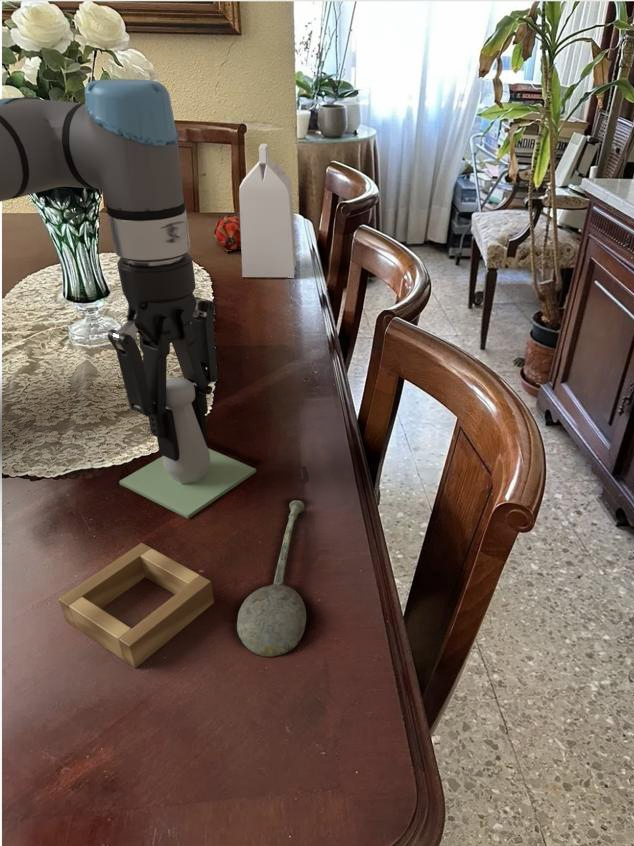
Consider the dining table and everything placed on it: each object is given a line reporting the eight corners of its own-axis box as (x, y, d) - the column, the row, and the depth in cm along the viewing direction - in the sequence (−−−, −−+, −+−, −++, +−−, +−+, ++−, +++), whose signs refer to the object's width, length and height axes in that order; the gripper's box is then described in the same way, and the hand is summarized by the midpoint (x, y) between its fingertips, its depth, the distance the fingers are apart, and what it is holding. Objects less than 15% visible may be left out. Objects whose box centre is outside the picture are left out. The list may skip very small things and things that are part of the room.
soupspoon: (230, 659, 61) (300, 665, 61) (228, 635, 59) (301, 642, 59) (270, 508, 79) (325, 513, 79) (270, 486, 77) (326, 491, 77)
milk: (247, 262, 157) (238, 140, 142) (296, 262, 158) (292, 141, 143) (242, 278, 147) (231, 150, 132) (294, 279, 148) (289, 151, 133)
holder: (65, 621, 64) (58, 598, 62) (146, 563, 71) (141, 542, 69) (135, 668, 59) (129, 646, 58) (214, 602, 66) (211, 581, 65)
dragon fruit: (239, 248, 172) (235, 269, 163) (210, 228, 168) (204, 249, 159) (256, 222, 167) (253, 242, 159) (227, 201, 164) (222, 221, 155)
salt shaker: (221, 469, 85) (210, 377, 77) (194, 493, 81) (179, 398, 73) (184, 458, 87) (170, 367, 79) (155, 480, 82) (137, 387, 75)
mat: (119, 484, 83) (118, 481, 82) (190, 443, 91) (189, 440, 90) (188, 519, 77) (187, 515, 77) (256, 472, 85) (256, 468, 85)
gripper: (110, 284, 60) (151, 491, 74) (238, 243, 72) (254, 428, 86) (59, 269, 64) (107, 469, 77) (189, 231, 75) (212, 411, 89)
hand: (184, 447), depth 81 cm, fingers closed on salt shaker, 4 cm apart
